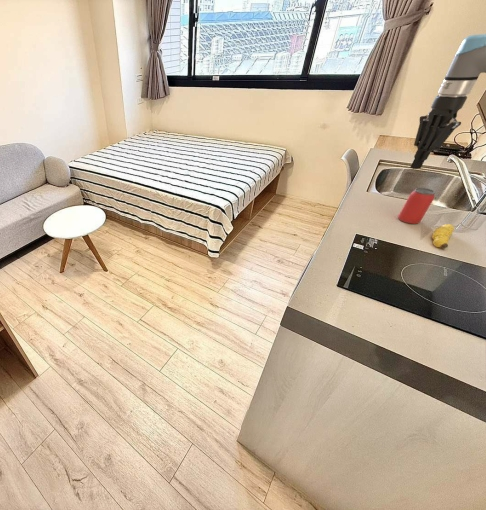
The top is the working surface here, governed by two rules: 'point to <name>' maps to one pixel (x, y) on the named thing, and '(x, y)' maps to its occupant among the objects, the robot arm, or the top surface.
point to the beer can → (416, 205)
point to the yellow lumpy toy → (442, 235)
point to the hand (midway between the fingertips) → (415, 167)
